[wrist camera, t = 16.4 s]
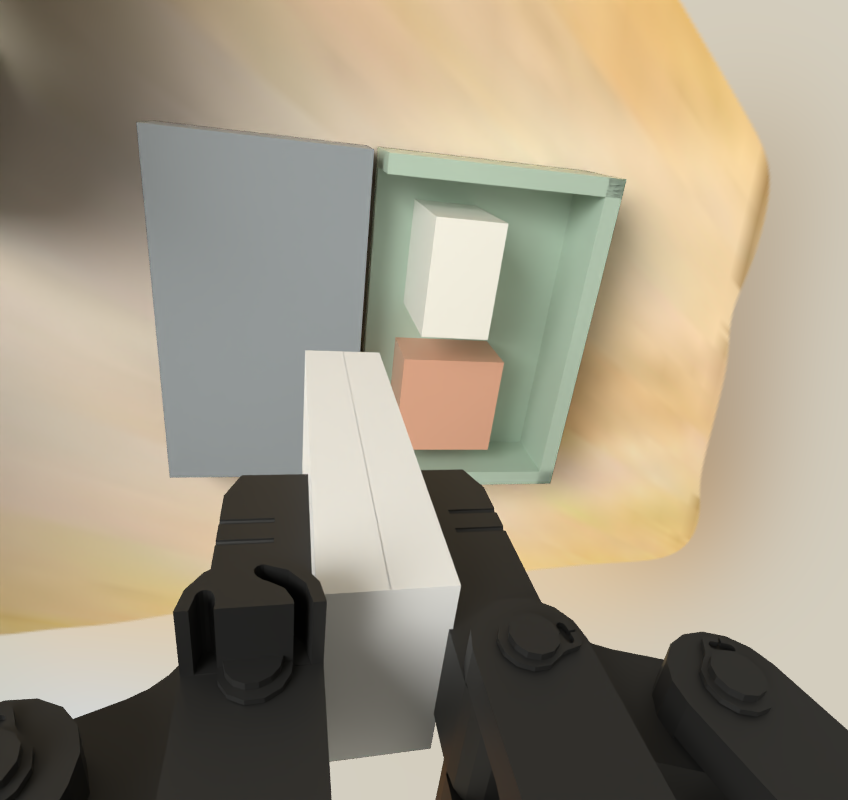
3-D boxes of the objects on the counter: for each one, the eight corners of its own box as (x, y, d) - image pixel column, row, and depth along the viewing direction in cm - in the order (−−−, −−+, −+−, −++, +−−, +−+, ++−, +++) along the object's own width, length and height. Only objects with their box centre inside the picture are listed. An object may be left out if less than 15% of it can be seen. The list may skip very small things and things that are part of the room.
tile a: (387, 421, 32) (394, 449, 29) (395, 337, 30) (404, 359, 27) (473, 422, 33) (487, 449, 30) (486, 341, 31) (504, 362, 28)
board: (181, 446, 31) (169, 477, 28) (154, 120, 24) (136, 122, 21) (347, 446, 33) (351, 475, 30) (366, 145, 26) (374, 149, 23)
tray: (356, 446, 33) (362, 486, 30) (377, 146, 26) (389, 152, 23) (525, 446, 35) (550, 483, 32) (586, 170, 28) (626, 179, 25)
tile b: (421, 336, 24) (487, 340, 25) (436, 216, 22) (508, 223, 23) (403, 302, 29) (460, 305, 30) (414, 199, 27) (475, 205, 27)
